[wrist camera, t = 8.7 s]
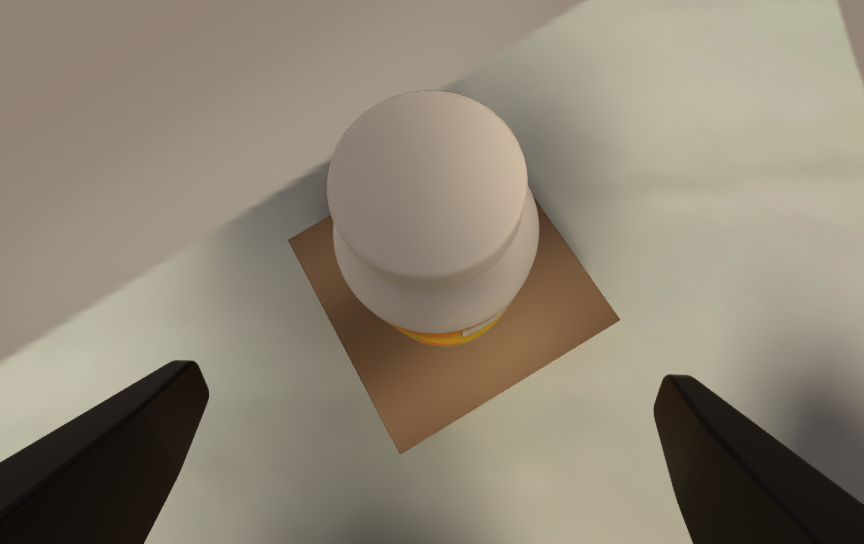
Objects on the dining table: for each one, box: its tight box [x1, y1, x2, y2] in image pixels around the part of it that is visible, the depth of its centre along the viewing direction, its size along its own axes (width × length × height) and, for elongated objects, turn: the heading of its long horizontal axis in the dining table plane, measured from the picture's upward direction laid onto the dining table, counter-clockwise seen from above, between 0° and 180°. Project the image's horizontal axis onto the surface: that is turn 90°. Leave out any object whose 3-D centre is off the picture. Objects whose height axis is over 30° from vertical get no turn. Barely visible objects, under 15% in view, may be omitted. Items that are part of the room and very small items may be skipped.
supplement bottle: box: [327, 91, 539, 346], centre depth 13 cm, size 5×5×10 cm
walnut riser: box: [288, 197, 620, 454], centre depth 20 cm, size 10×10×4 cm
